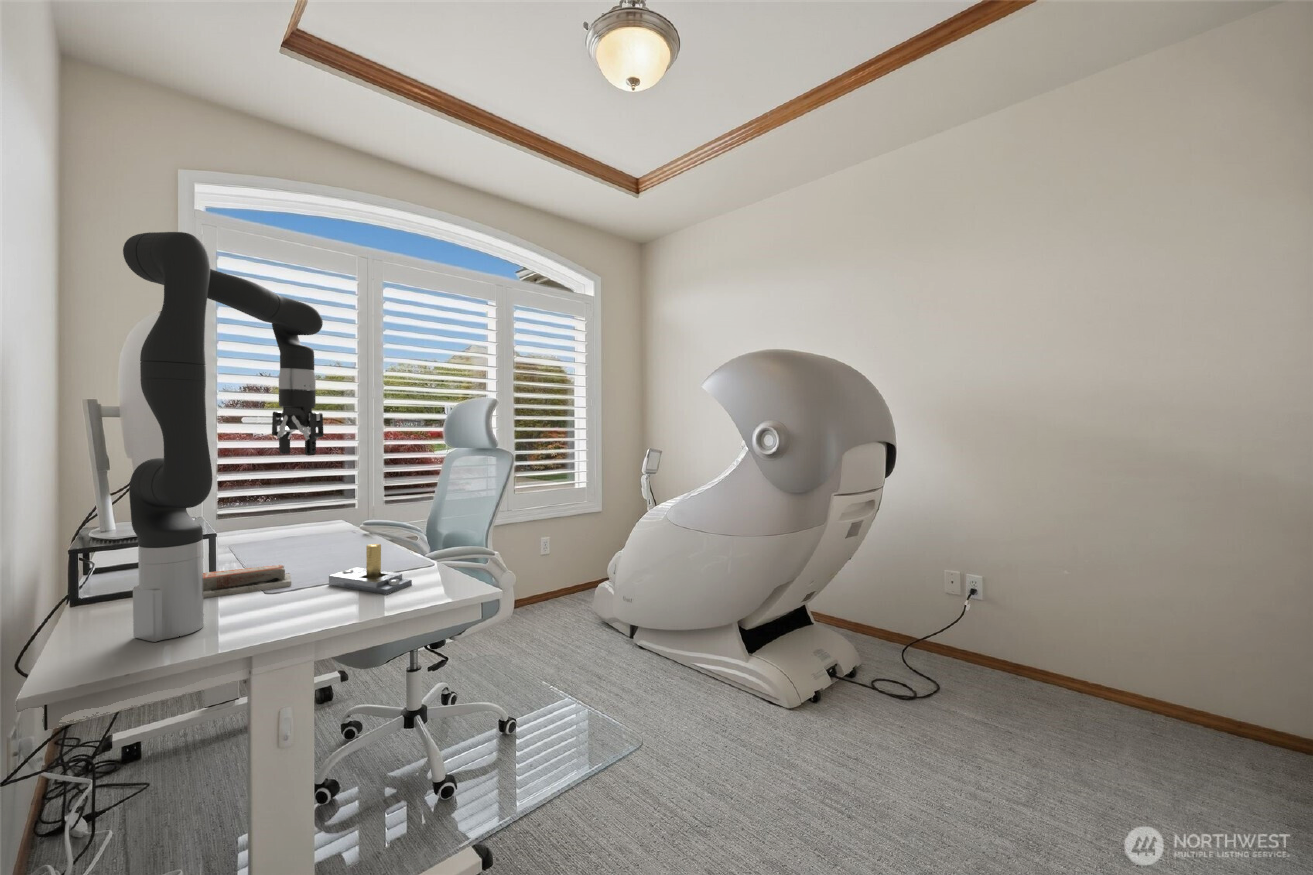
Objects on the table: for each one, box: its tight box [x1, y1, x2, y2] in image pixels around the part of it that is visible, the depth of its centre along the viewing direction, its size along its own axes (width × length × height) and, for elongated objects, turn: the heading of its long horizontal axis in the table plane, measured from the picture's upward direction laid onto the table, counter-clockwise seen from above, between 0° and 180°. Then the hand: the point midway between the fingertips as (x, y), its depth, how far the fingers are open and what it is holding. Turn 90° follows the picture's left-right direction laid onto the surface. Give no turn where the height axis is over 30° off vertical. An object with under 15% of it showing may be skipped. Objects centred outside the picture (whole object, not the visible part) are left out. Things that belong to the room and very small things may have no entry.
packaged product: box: [203, 564, 292, 599], centre depth 132 cm, size 18×5×10 cm
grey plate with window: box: [328, 566, 413, 595], centre depth 135 cm, size 8×18×3 cm, turn 71°
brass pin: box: [365, 543, 382, 579], centre depth 135 cm, size 3×3×10 cm
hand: (297, 454), depth 134 cm, fingers open, 8 cm apart
